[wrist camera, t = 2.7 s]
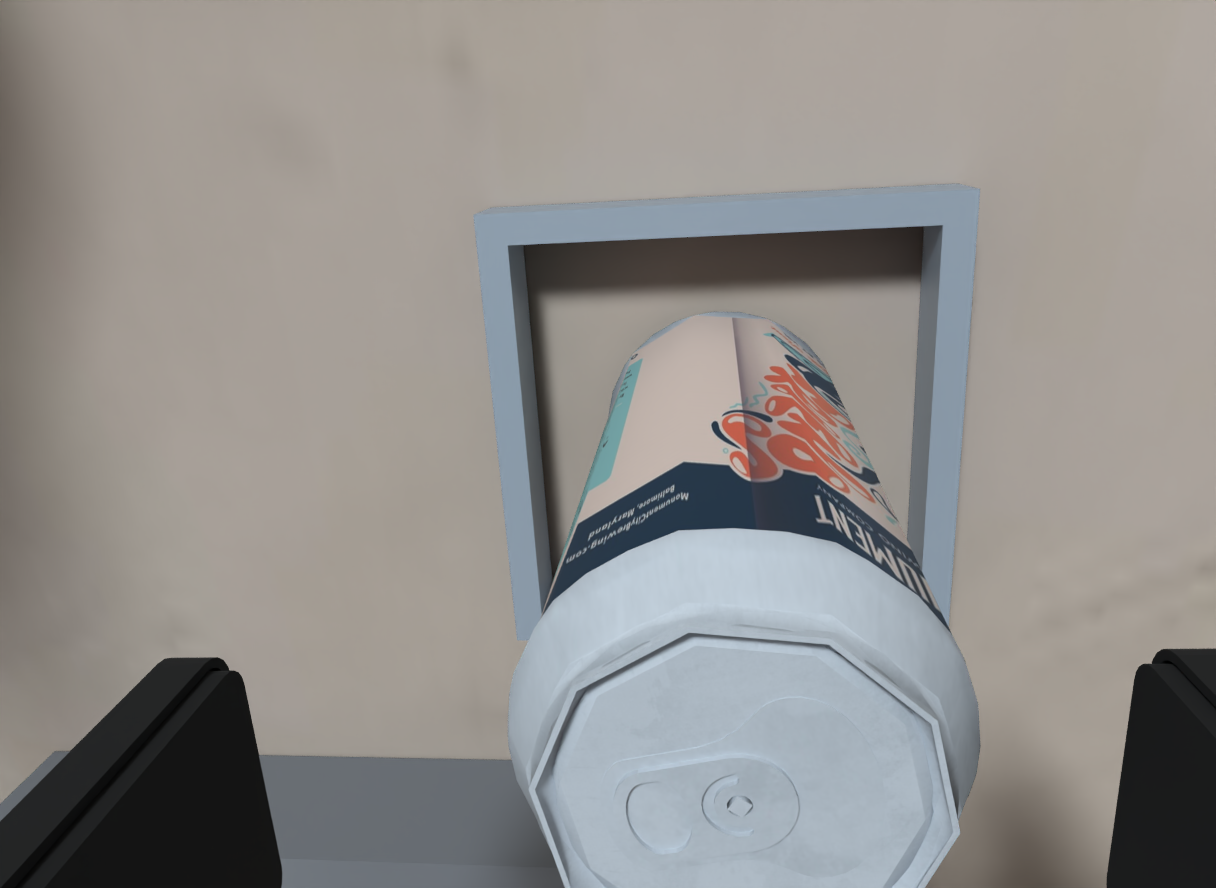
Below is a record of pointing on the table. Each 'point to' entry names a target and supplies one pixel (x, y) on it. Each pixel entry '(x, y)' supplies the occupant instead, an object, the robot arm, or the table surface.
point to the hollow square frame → (509, 228)
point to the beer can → (740, 642)
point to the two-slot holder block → (394, 823)
